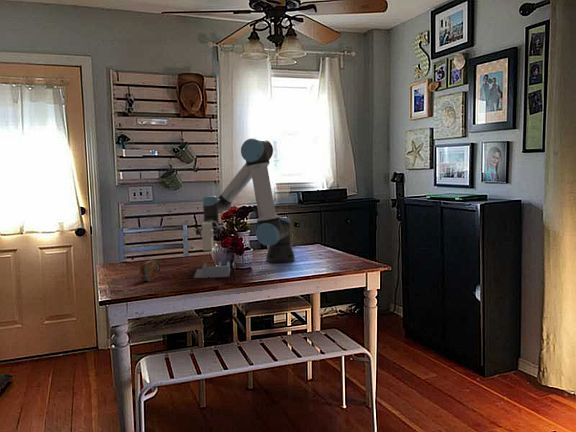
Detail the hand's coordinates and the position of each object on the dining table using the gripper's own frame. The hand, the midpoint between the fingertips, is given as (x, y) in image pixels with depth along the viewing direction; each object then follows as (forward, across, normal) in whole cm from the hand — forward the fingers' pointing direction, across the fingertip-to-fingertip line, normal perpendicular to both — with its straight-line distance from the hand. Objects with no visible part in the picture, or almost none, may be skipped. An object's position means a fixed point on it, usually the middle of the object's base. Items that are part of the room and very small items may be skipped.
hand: (206, 234), depth 227 cm
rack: (-5, -1, -20) cm, 21 cm away
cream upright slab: (-5, 0, -8) cm, 9 cm away
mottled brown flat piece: (0, +27, -20) cm, 33 cm away
